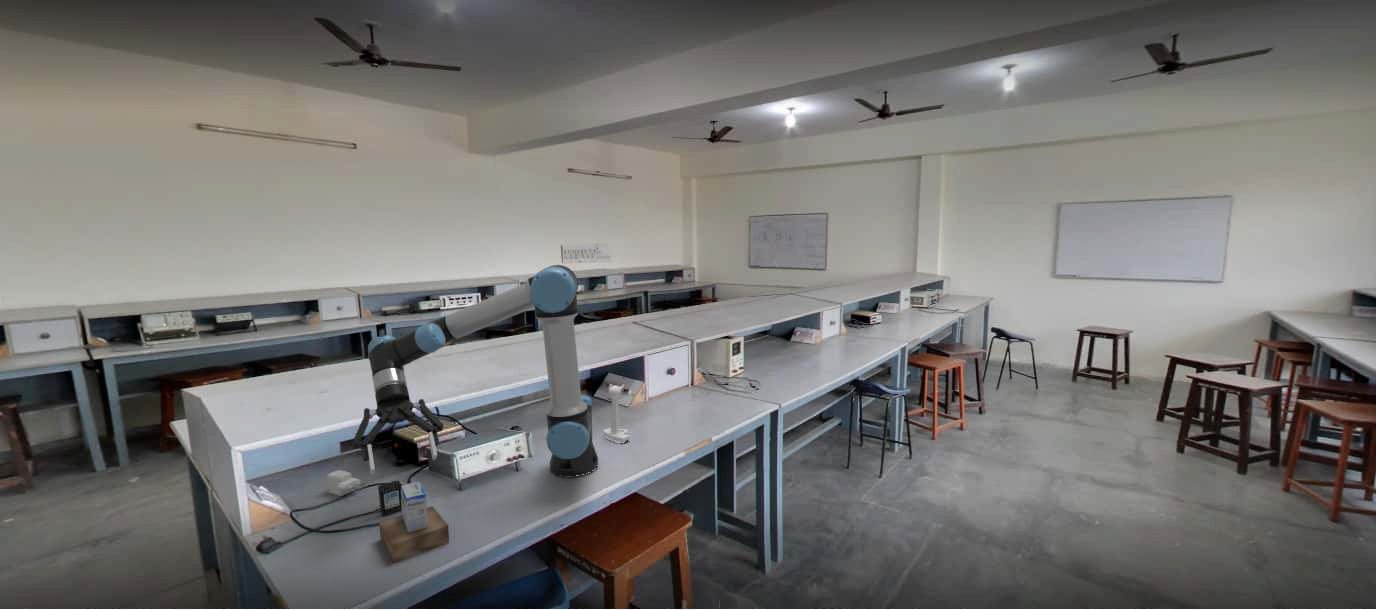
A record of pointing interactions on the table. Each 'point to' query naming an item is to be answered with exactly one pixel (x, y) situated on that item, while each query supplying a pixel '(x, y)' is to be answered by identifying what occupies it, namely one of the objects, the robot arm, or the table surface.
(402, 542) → the walnut block
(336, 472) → the power adapter
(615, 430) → the joystick
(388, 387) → the robot arm
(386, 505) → the ink cartridge
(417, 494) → the medicine box
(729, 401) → the table surface
